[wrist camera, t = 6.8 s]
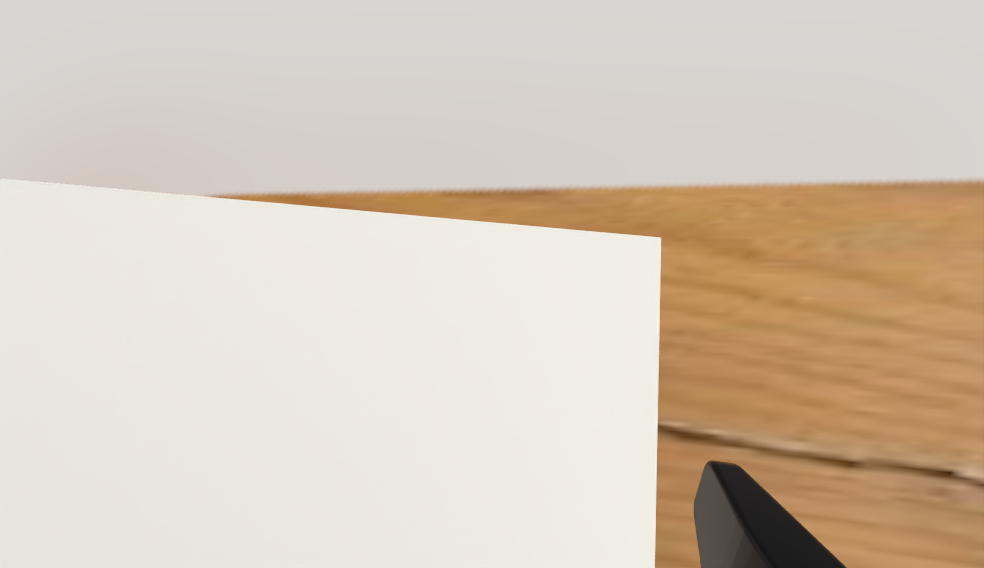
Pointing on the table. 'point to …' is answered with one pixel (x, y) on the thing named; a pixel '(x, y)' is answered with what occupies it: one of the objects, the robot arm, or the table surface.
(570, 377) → the cream block
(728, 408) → the table surface
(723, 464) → the robot arm
